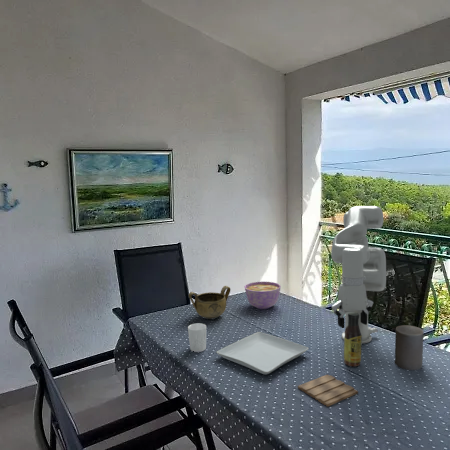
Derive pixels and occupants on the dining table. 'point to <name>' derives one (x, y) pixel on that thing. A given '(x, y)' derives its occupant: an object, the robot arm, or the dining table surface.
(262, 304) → the bowl of food
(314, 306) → the dining table surface
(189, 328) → the white cup
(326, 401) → the trivet
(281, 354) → the square plate
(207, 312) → the ceramic bowl
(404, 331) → the pillar candle
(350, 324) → the sauce bottle
